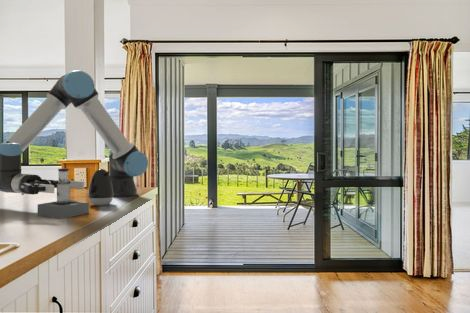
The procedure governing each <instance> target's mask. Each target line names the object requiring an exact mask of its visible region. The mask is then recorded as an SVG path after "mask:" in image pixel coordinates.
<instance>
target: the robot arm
mask: <svg viewBox="0 0 470 313" xmlns="http://www.w3.org/2000/svg"><path fill="white" fill-rule="evenodd" d="M94 81H95V80H93V78H92V76H91V75H89V73H88V72H85V71H83V70H71V71H68V72H67V73H66V74H64V75H62V76H60V78H59V79H57V81H56V82H55V84H54V85H53V86H52V88H51V89H50V90H49V91H48V93H46V98H45V99H44V101H42V103H41V104H39V106H38V107H37V108H36V109H35V110H34V111H33V112H32V113H31V114H30V116H28V117H27V119H26V120H25V121H24V122H23V123H22V124H21V125H20V126H19V127H18V128H17V129H16V130H15V132H14V133H13V134H11V136H10V137H9V138H8V139H7V141H5V142H1V143H0V192H3V193H7V194H9V193H12V194H21V195H22V196H24V195H25V194H26V195H33V196H34V195H38V194H39V193H45V194H55V188H56V189H57V184H59V179H57V180H55V179H42V177H41V176H39V175H38V174H32V173H31V174H29V173H22V154H23V152H24V151H25V150H26V149H27V148H28V147H29V146H30V145H31V144H32V143H33V141H35V139H36V138H37V137H38V136H39V135H40V134H41V133H42V132H43V130H45V129H46V127H47V126H48V125H49V124H50V123H51V122H52V121H53V119H55V117H56V116H57V115H58V114H59V113H60V112H61V111H62V110H66V109H67V108H68V106H70V105H73V107H74V108H75V109H79V110H81V112H82V114H84V115H85V117H86V118H87V120H88V121H89V123H90V124H91V125H92V127H93V128H94V129H95V131H96V132H97V133H98V135H99V136H100V137H101V139H102V141H104V143H105V144H106V146H107V147H108V148H109V149H110V150H109V153H108V154H109V155H108V160H109V162H108V166H109V167H108V171H109V176H110V179H111V182H112V186H113V191H114V196H113V198H114V197H115V198H116V197H120V198H121V197H132V196H136V195H138V190H137V187H136V183H135V179H134V177H139V176H142V175H143V174H144V173H145V172H147V169H148V166H149V159H148V157H147V155H146V154H145V153H144V152H143V151H139V149H138V148H137V146H136V145H135V143H133V142H129V140H128V139H127V138H126V137H125V135H124V134H123V132H122V131H121V129H120V128H119V126H118V125H117V124H116V122H115V120H114V119H113V118H112V117H111V115H110V113H109V112H108V111H107V109H105V107H104V105H103V104H102V103H101V101H100V100H99V94H100V93H99V92H98V91H97V89H96V88H95V82H94ZM68 184H70V189H79V190H84V189H85V181H82V180H81V181H79V180H75V179H73V178H71V179H70V180H69V179H68Z"/></svg>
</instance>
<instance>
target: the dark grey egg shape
mask: <svg viewBox="0 0 470 313" xmlns="http://www.w3.org/2000/svg"><path fill="white" fill-rule="evenodd" d="M87 198H88V199H89V203H90V204H91V205H93V206H97V207H103V206H107V205H109V204H111V203H112V201H113V199H114V191H113V186H112V182H111V179H110V176H109V170H106V169H104V168H99V169H96V170H95V172H93V174H92V177H91V178H90V182H89V186H88V191H87Z"/></svg>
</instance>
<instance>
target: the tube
mask: <svg viewBox="0 0 470 313" xmlns="http://www.w3.org/2000/svg"><path fill="white" fill-rule="evenodd" d="M69 170H70V169H69V168H66V167H65V168H58V170H57V171H58V180H59V184H57V188H56V201H57V205H68V204H70V200H71V188H70V184H68V180H69Z"/></svg>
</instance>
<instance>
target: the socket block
mask: <svg viewBox="0 0 470 313" xmlns="http://www.w3.org/2000/svg"><path fill="white" fill-rule="evenodd" d="M89 212H90V201H80V200H71V199H70V204H68V205H57V200H56V201H51V202H44V203H39V204H37V216H38V217H47V218H54V219H55V218H56V219H68V218H71V217H77V216H80V215H81V216H82V215H84V214H89Z"/></svg>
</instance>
